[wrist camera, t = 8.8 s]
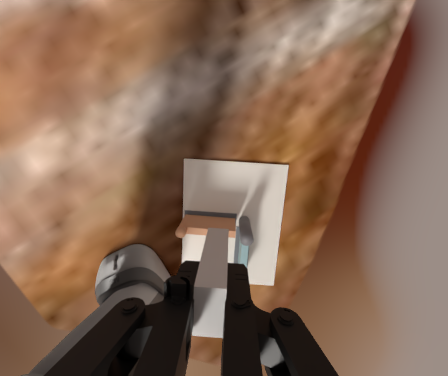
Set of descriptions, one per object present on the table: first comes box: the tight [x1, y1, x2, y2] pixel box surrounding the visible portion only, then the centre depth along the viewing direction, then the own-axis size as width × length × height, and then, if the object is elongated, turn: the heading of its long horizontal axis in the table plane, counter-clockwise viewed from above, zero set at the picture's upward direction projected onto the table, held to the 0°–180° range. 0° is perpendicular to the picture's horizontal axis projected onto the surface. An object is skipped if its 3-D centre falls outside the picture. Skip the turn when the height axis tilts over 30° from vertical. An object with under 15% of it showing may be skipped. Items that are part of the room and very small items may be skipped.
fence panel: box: [175, 214, 236, 238], centre depth 34 cm, size 8×1×6 cm, turn 86°
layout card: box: [182, 158, 289, 286], centre depth 38 cm, size 21×16×1 cm
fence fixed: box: [238, 216, 254, 268], centre depth 35 cm, size 11×2×7 cm, turn 177°
